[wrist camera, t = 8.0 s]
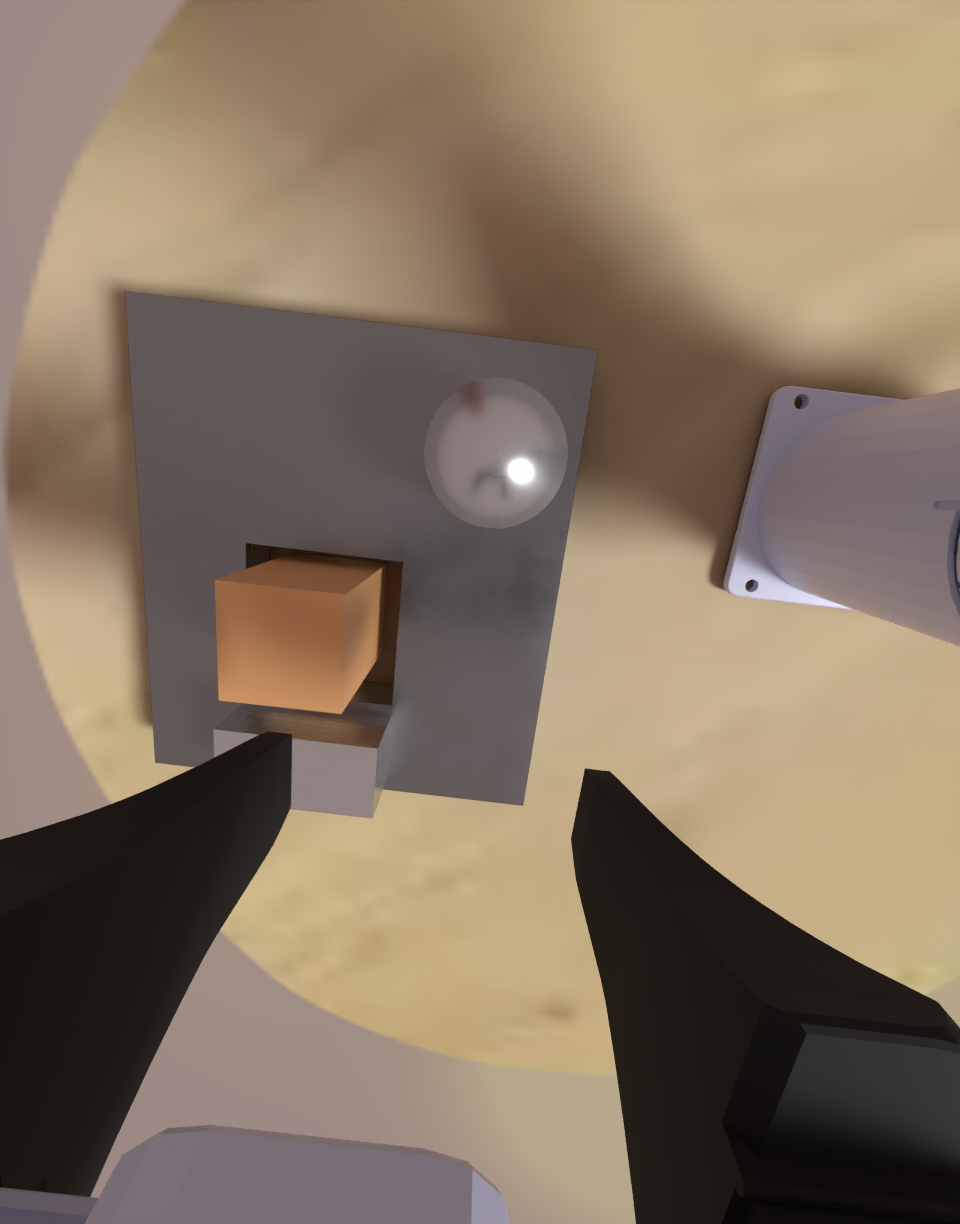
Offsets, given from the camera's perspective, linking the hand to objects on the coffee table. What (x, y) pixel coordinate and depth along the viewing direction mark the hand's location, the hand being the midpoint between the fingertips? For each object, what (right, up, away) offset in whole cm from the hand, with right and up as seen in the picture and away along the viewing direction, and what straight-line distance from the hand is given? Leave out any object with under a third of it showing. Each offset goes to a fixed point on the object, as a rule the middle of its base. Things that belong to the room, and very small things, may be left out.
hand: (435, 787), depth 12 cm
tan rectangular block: (-5, +5, +9) cm, 12 cm away
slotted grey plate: (-4, +6, +9) cm, 11 cm away
